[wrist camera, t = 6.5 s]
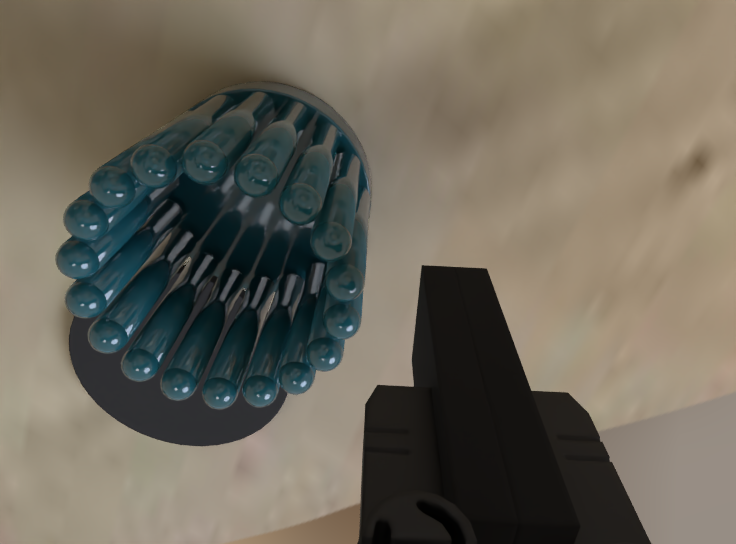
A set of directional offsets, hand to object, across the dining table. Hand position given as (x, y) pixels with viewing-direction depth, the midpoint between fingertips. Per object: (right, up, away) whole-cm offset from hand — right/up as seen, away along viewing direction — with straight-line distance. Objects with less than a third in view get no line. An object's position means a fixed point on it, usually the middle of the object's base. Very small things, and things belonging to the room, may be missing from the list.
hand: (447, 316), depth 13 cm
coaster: (-11, -3, +14) cm, 18 cm away
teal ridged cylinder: (-2, +3, +5) cm, 6 cm away
